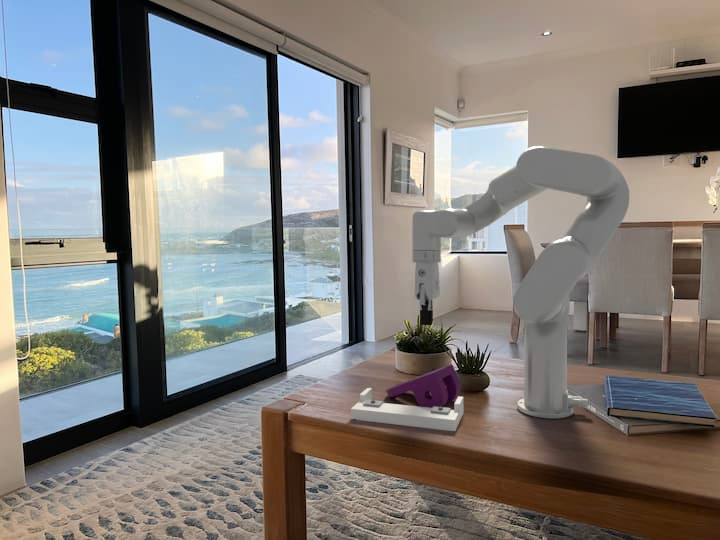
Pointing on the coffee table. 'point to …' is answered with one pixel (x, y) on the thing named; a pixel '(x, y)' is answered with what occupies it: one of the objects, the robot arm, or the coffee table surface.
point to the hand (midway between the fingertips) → (426, 324)
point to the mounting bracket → (431, 387)
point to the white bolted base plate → (407, 413)
